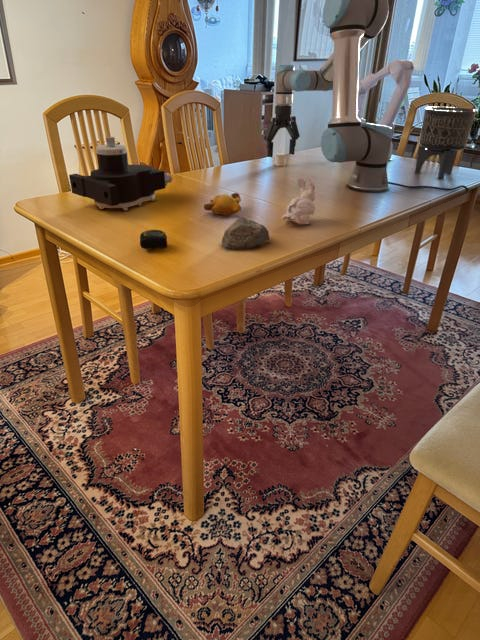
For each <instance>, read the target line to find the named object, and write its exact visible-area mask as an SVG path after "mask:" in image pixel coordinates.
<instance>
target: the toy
mask: <svg viewBox="0 0 480 640" xmlns="http://www.w3.org/2000/svg"><path fill="white" fill-rule="evenodd" d="M241 201H242V199H241V195H240V193H237V192H233V193H231V195H230V194H227V193H224V194H218V195H216V196H214V197H213V199H210V202H208V203H205V204H204V205H203V209H204V211H211V212H212V213H213V214H219V215H221V216H232V215H235V214H237V213H239V212H241V210H242V205H241V204H240V203H241Z"/></svg>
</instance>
